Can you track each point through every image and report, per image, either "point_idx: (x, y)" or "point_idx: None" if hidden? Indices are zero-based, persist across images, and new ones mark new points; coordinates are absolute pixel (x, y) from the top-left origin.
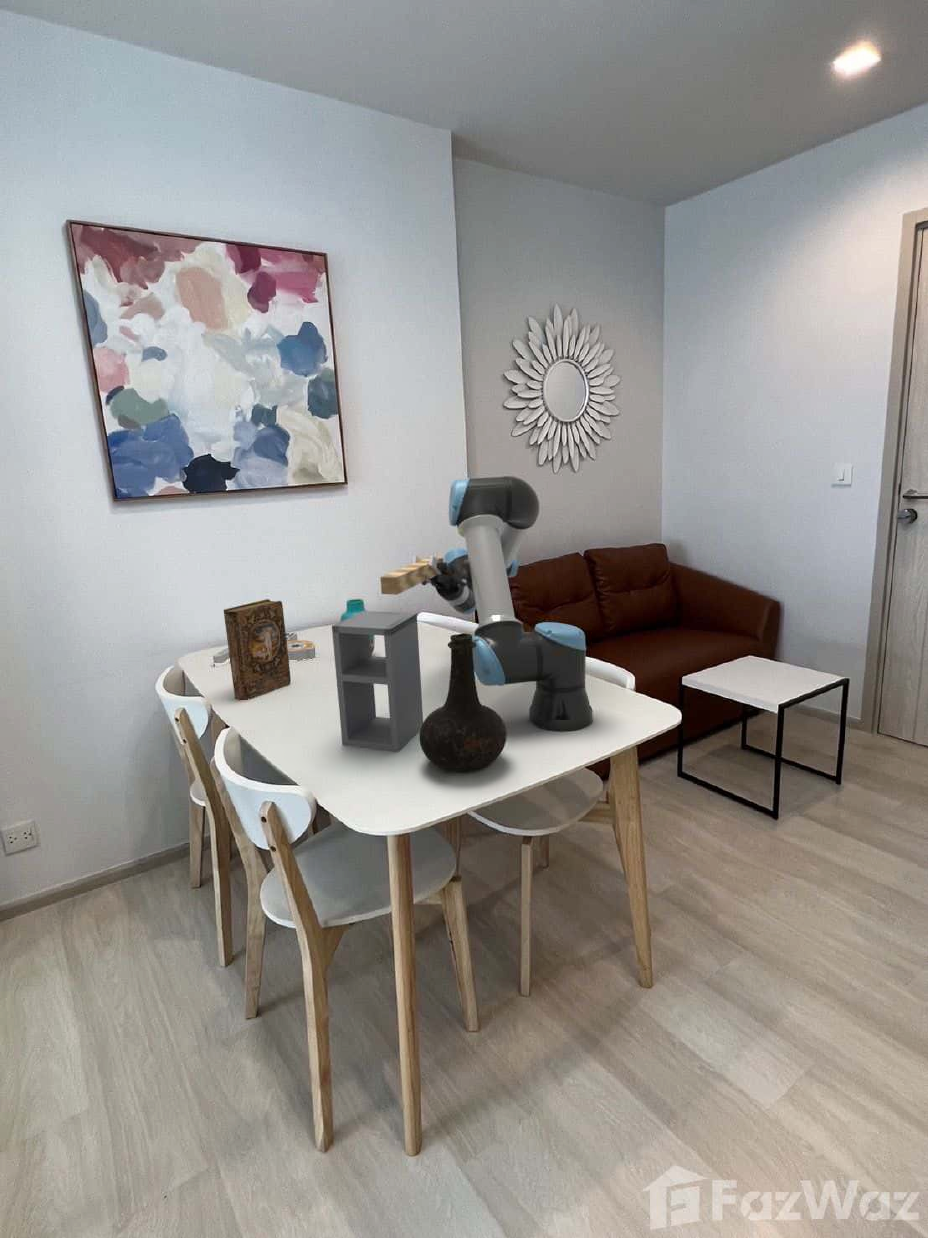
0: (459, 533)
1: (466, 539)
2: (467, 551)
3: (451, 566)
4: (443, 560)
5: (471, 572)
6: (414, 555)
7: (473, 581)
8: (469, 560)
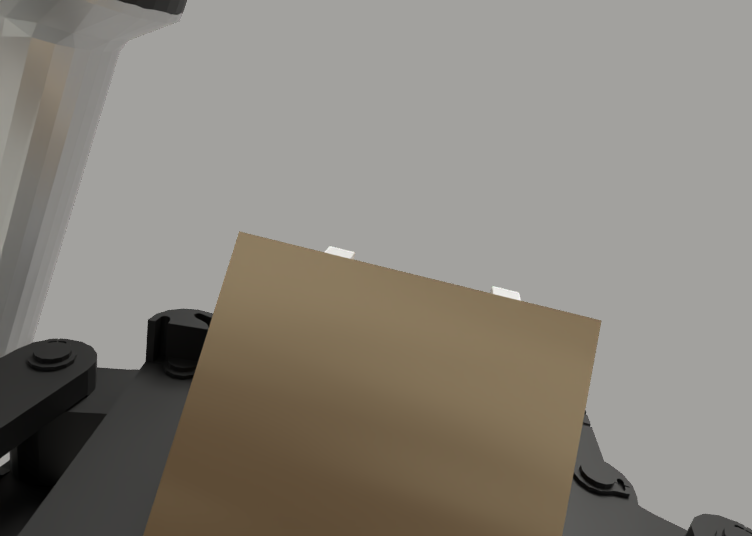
0: (154, 26)
1: (109, 84)
2: (84, 159)
3: (67, 344)
4: (219, 309)
5: (51, 277)
6: (510, 293)
7: (39, 317)
8: (70, 214)
